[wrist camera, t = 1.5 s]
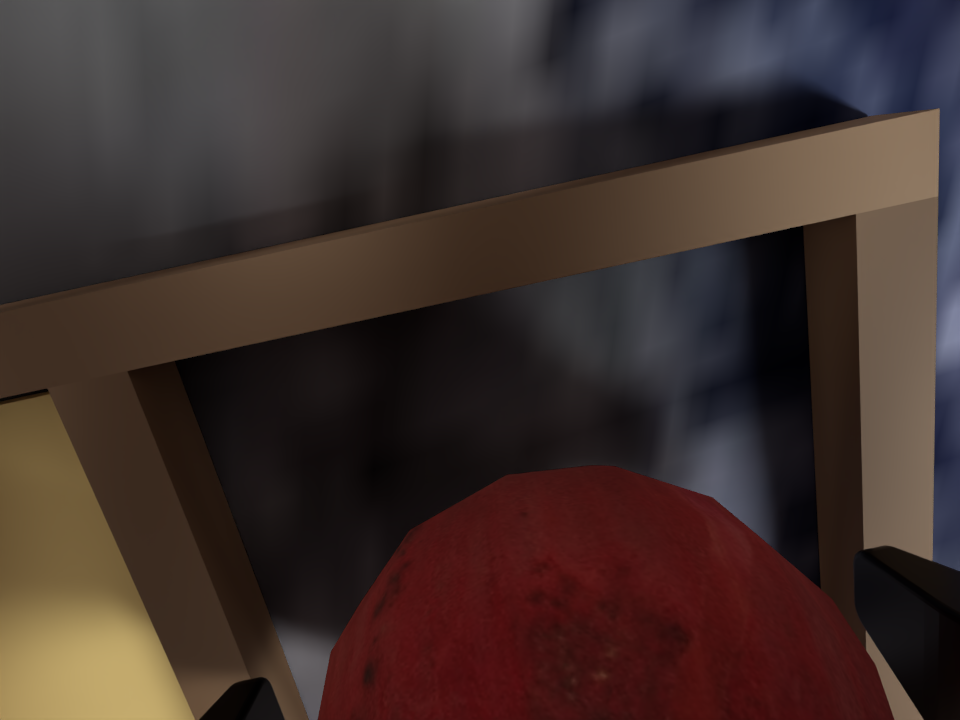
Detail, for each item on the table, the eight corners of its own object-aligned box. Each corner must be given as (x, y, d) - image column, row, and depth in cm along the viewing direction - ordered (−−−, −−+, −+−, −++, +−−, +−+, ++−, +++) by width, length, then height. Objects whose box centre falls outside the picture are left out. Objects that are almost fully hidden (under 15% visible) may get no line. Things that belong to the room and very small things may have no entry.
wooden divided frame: (872, 115, 8) (939, 108, 7) (881, 736, 12) (928, 798, 11) (-643, 444, 9) (-807, 487, 8) (-213, 963, 12) (-282, 1047, 11)
